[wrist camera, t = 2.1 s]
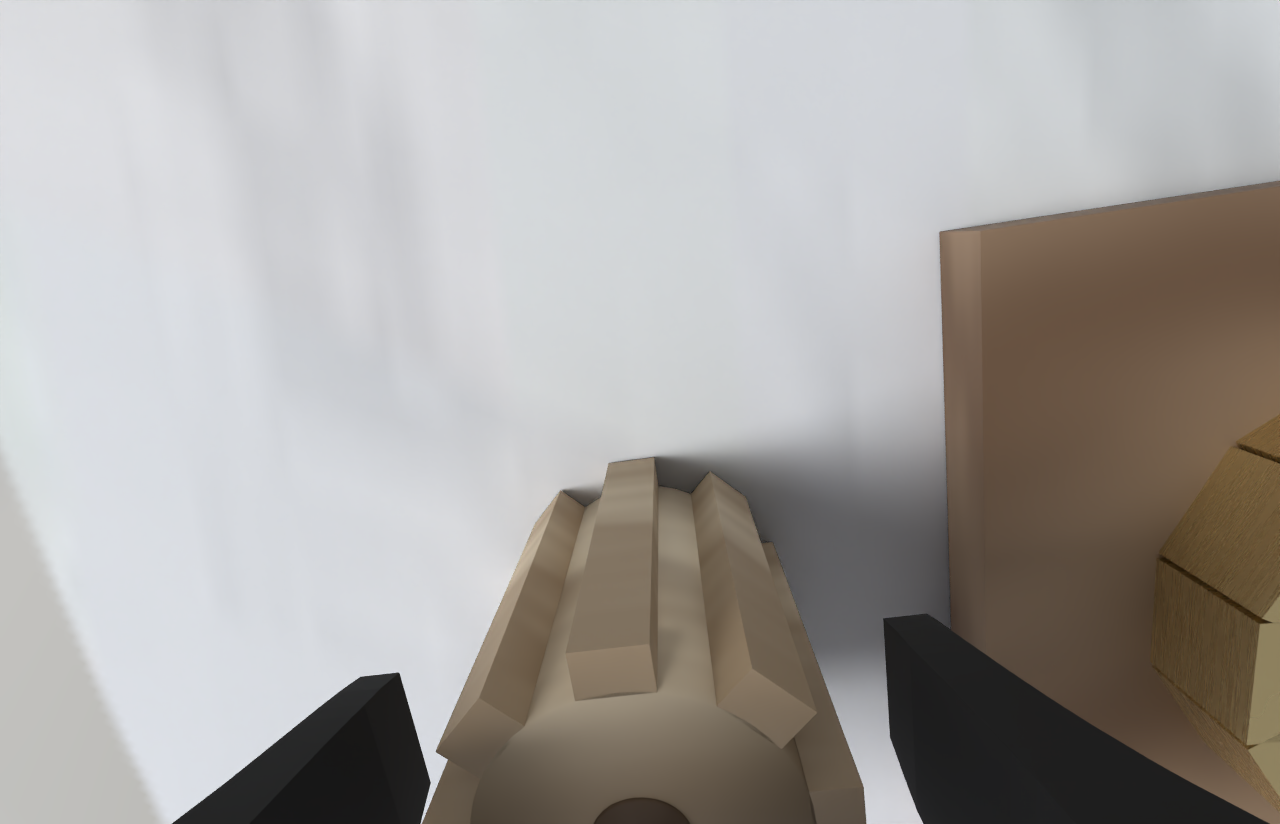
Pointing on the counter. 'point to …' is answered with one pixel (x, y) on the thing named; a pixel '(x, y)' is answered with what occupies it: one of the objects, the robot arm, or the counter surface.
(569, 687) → the maple gear
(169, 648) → the counter surface
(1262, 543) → the brass ring socket
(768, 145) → the counter surface
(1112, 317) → the walnut board
